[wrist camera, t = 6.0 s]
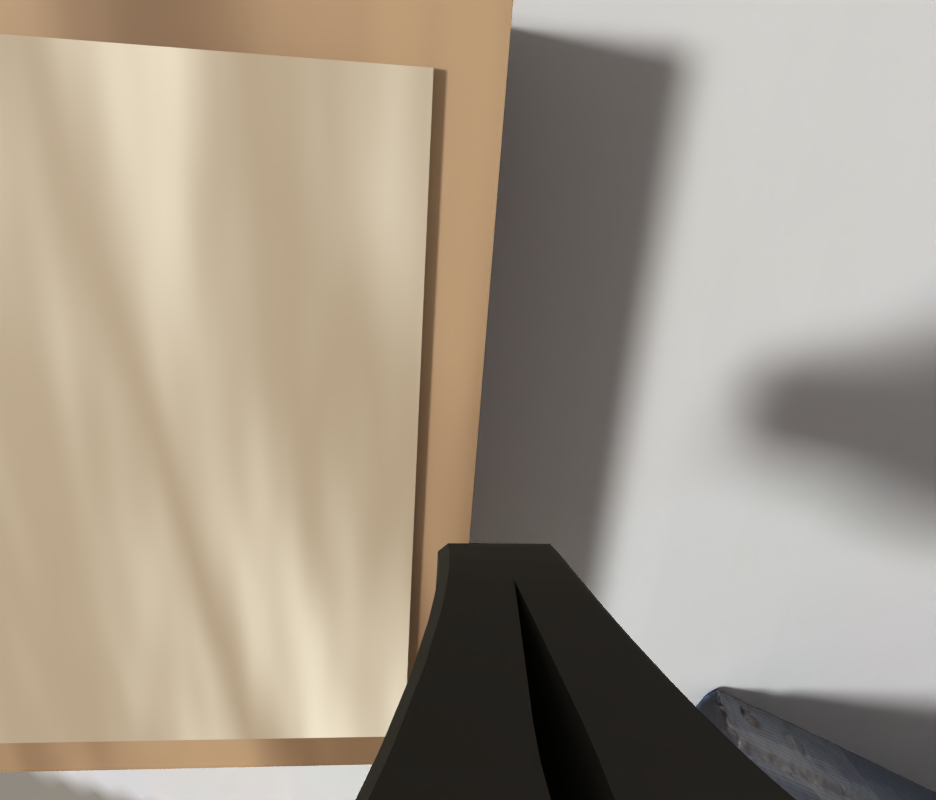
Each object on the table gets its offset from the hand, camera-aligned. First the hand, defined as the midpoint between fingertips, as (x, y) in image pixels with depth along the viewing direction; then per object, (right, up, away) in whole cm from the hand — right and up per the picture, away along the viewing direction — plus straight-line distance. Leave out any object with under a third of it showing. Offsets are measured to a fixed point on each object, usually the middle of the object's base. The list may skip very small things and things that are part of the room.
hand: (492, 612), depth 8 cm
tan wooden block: (0, +2, +5) cm, 6 cm away
